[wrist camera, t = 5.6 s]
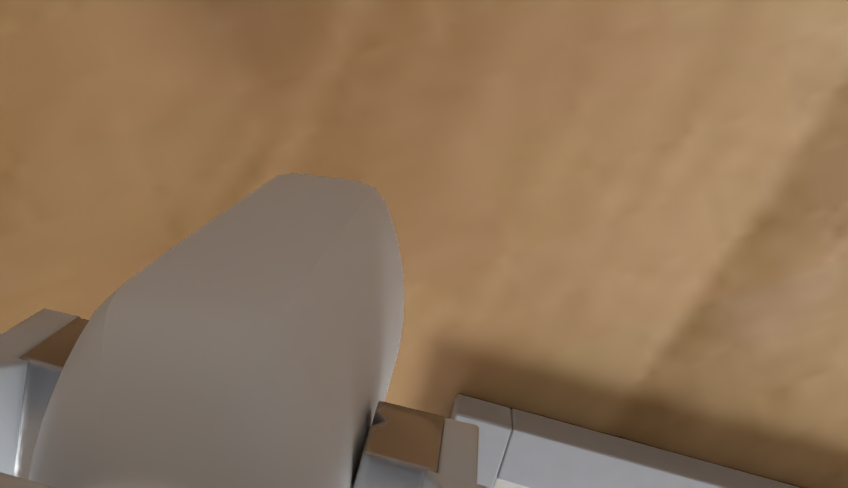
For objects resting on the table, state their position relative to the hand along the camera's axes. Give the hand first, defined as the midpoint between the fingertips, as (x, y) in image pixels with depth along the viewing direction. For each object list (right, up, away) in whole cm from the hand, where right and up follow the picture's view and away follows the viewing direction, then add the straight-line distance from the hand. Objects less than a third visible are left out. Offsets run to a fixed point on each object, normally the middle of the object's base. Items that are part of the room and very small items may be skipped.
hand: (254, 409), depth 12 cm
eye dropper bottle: (0, +1, +5) cm, 5 cm away
